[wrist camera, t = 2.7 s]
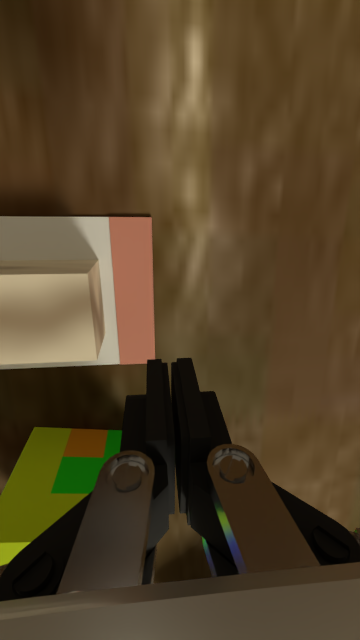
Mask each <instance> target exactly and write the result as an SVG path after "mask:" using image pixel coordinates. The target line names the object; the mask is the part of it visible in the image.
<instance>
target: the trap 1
mask: <svg viewBox="0 0 360 640" xmlns="http://www.w3.org/2000/svg"><path fill="white" fill-rule="evenodd" d="M109 225H110V238H111V251H112V264H113V277H114V290H115V303H116V316H117V329H118V342H119V355H120V364H142V363H147V360H148V359H155V336H154V296H153V257H152V217H109Z"/></svg>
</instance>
